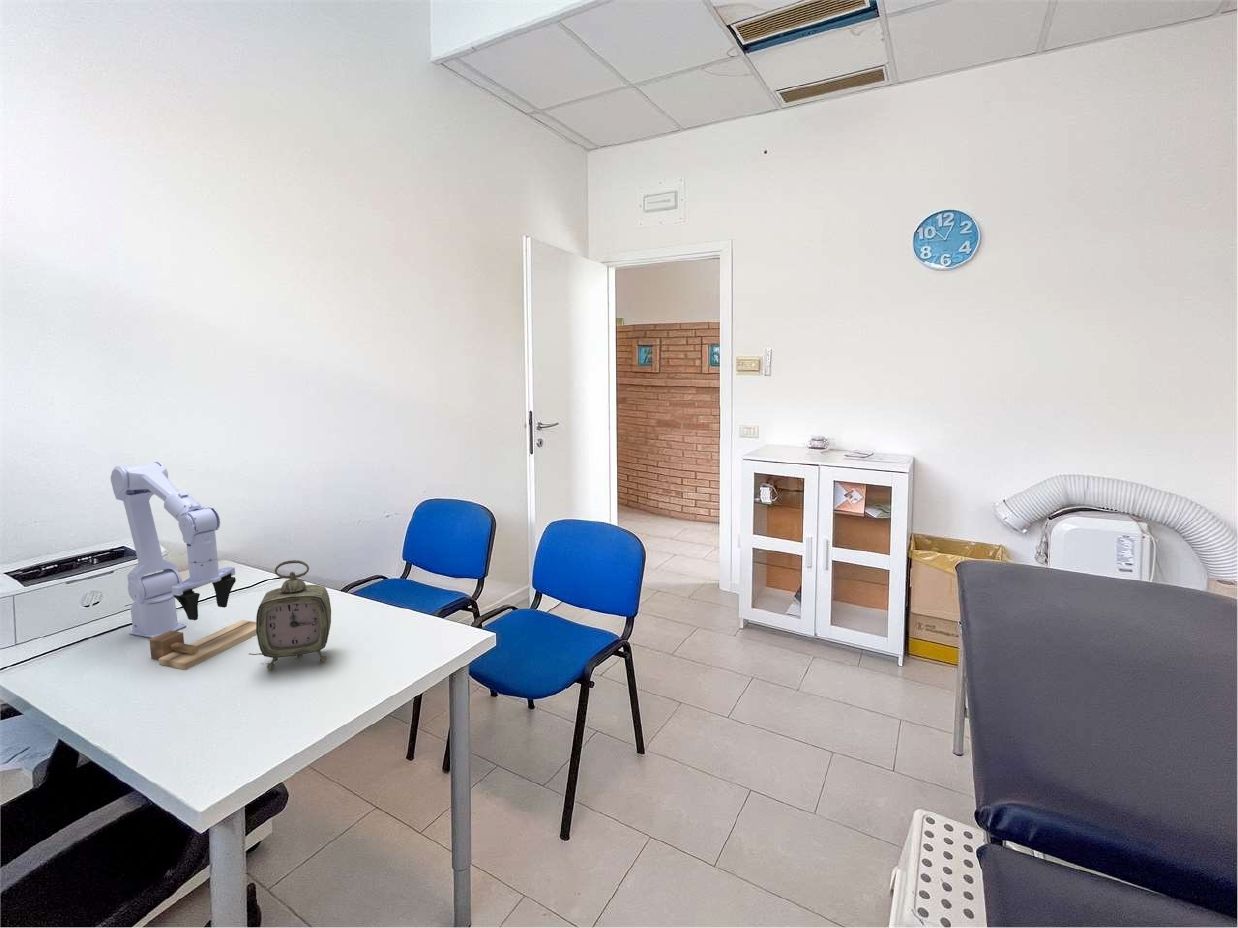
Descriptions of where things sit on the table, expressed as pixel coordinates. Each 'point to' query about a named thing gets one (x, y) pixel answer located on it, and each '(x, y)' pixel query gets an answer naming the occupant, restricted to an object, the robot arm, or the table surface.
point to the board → (211, 645)
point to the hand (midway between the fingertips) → (208, 612)
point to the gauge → (169, 644)
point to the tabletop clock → (293, 618)
